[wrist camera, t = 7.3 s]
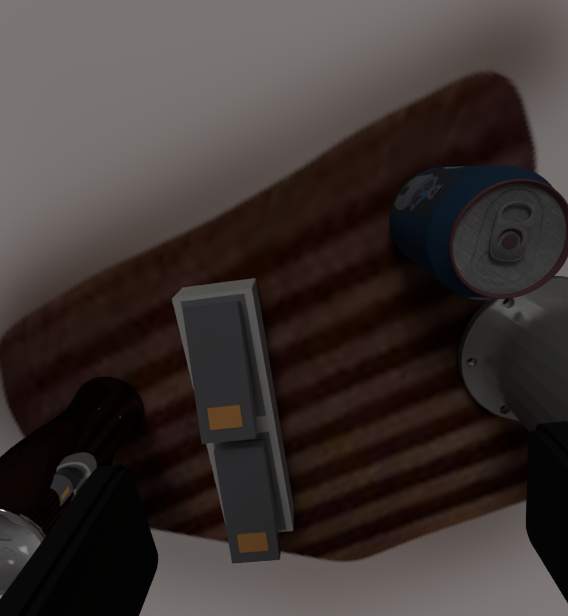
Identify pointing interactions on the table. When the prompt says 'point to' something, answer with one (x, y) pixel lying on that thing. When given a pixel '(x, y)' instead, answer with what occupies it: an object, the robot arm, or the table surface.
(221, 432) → the outlet rocker
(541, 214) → the soda can
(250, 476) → the outlet rocker
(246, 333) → the power strip
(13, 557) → the beer glass
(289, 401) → the table surface
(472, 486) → the table surface
